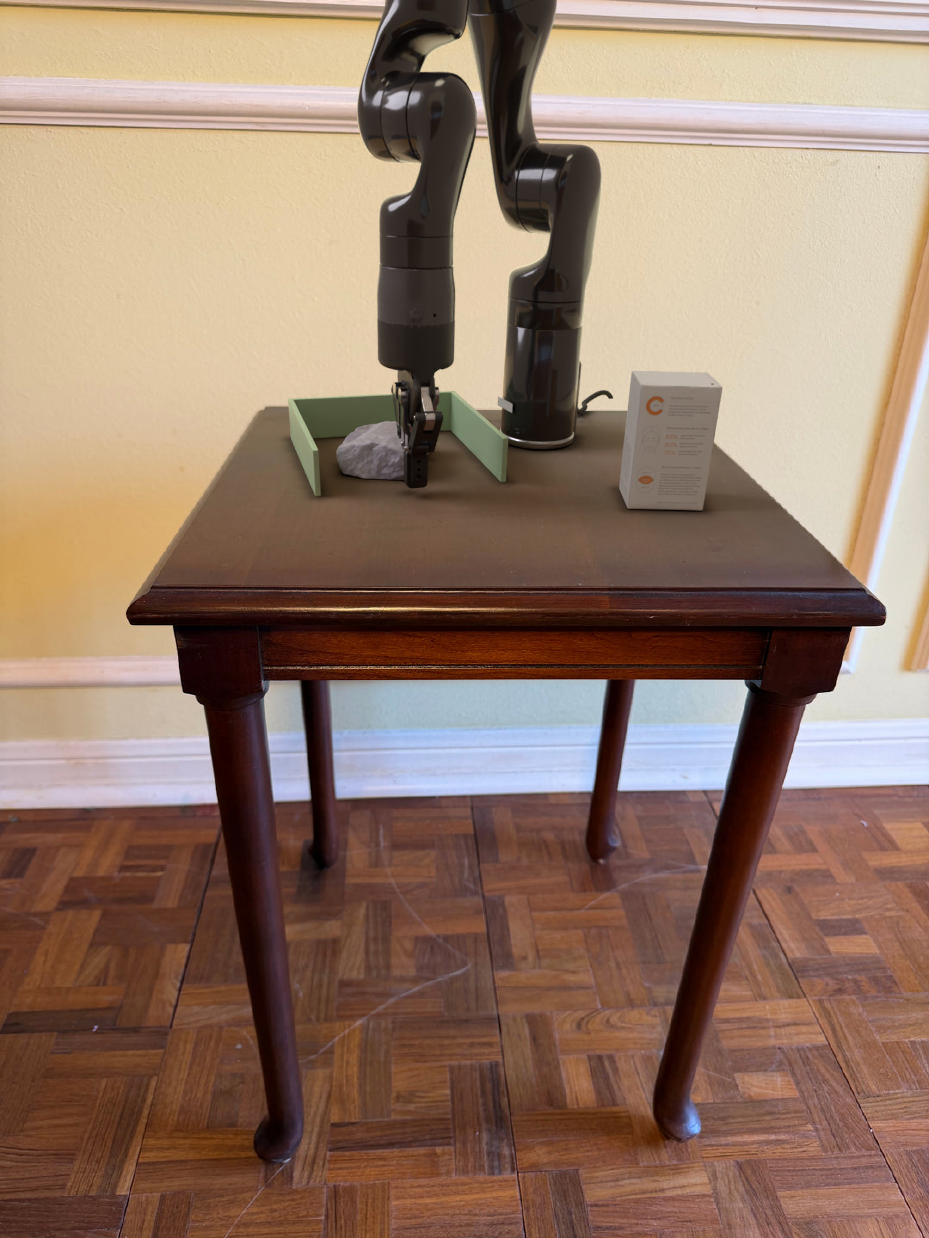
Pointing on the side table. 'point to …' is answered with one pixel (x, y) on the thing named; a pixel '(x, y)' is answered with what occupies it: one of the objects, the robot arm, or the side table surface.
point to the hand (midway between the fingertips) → (415, 485)
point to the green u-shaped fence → (356, 411)
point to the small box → (669, 439)
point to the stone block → (373, 452)
